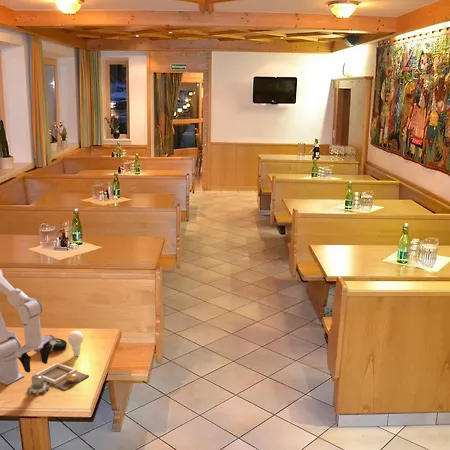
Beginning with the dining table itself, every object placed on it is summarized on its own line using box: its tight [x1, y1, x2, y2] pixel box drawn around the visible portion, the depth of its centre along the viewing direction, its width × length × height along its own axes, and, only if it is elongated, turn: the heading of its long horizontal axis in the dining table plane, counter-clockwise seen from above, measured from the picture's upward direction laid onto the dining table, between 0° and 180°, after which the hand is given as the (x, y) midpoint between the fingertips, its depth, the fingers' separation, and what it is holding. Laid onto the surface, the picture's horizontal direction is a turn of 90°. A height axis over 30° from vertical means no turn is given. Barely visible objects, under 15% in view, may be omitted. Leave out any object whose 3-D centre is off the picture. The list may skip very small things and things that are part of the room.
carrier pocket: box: [35, 362, 78, 384], centre depth 222 cm, size 11×11×1 cm
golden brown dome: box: [66, 371, 78, 384], centre depth 217 cm, size 4×4×2 cm
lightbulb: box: [67, 330, 84, 357], centre depth 237 cm, size 6×6×11 cm
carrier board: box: [43, 367, 90, 391], centre depth 220 cm, size 18×12×1 cm
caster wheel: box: [33, 334, 68, 354], centre depth 243 cm, size 7×11×10 cm
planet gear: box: [26, 373, 50, 397], centre depth 211 cm, size 8×8×6 cm
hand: (36, 367), depth 209 cm, fingers open, 7 cm apart
